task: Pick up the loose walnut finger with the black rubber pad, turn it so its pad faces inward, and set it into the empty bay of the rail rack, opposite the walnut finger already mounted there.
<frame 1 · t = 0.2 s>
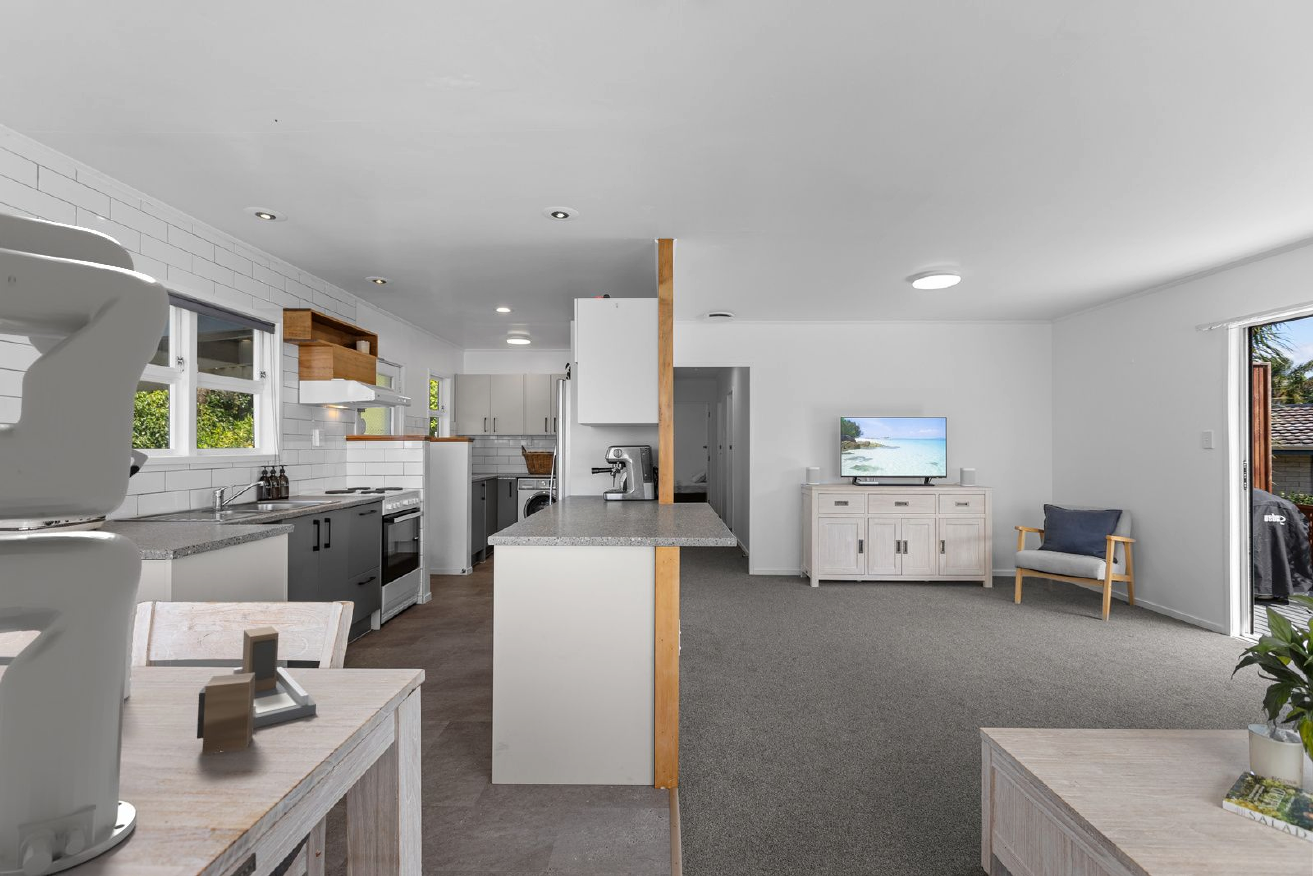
hand: (73, 507, 98), 31 cm above the table, tool pointing down, fingers open, 9 cm apart
water bottle: (94, 702, 101), on the table
walnut finger: (228, 745, 87), on the table
rail rack: (265, 704, 101), on the table
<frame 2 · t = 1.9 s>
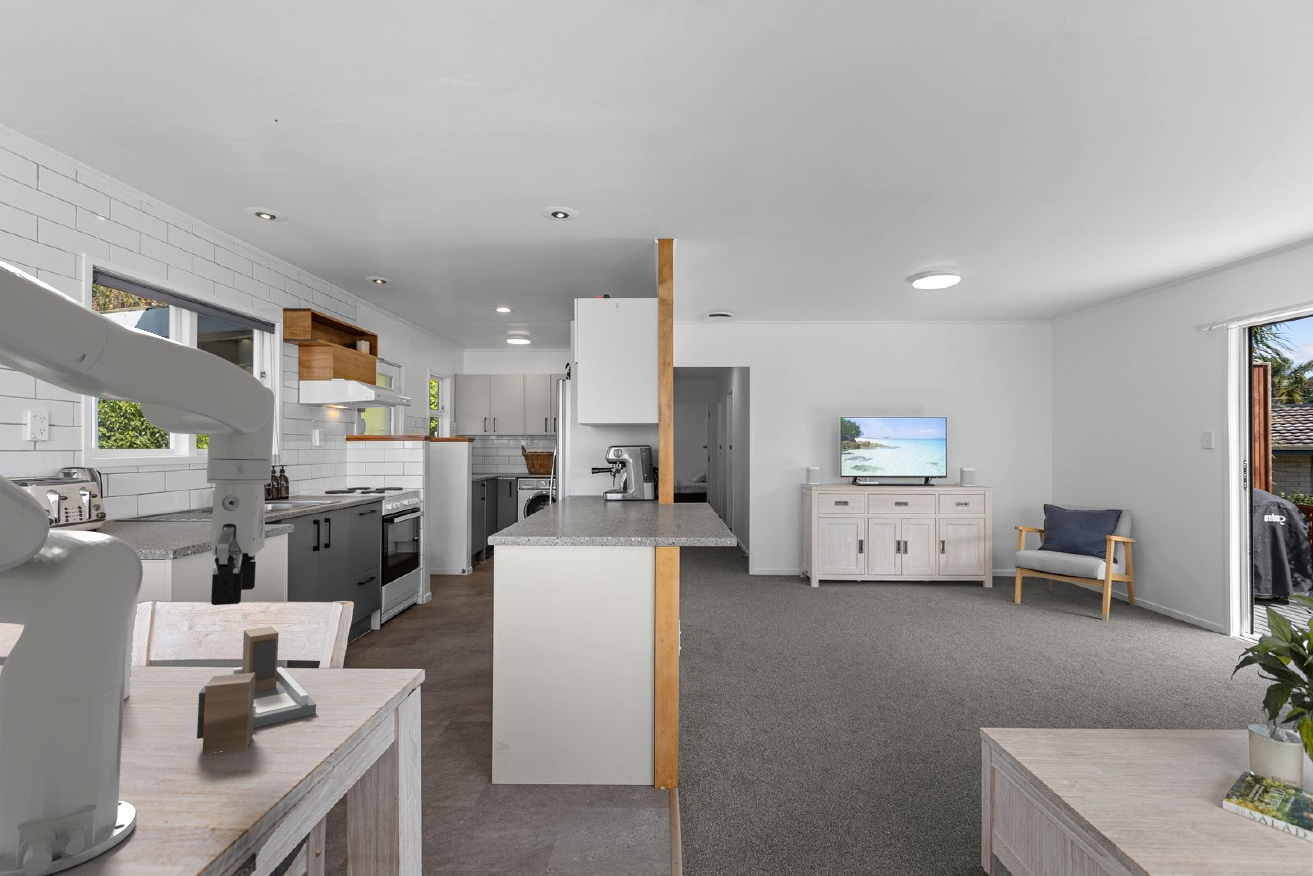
hand: (234, 596, 88), 20 cm above the table, tool pointing down, fingers open, 9 cm apart
nothing on the table moved.
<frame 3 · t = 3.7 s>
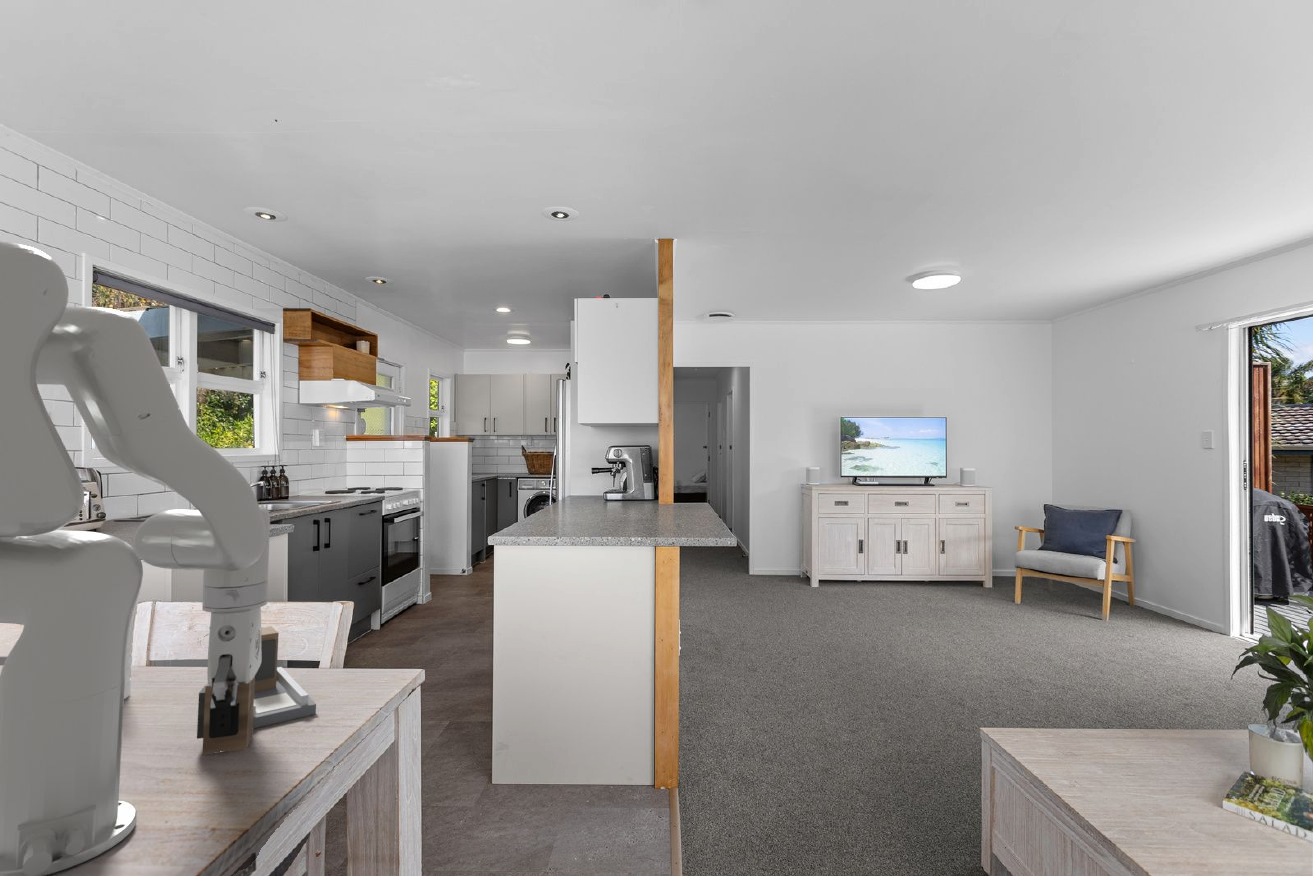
hand: (231, 721, 88), 3 cm above the table, tool pointing down, fingers open, 8 cm apart
nothing on the table moved.
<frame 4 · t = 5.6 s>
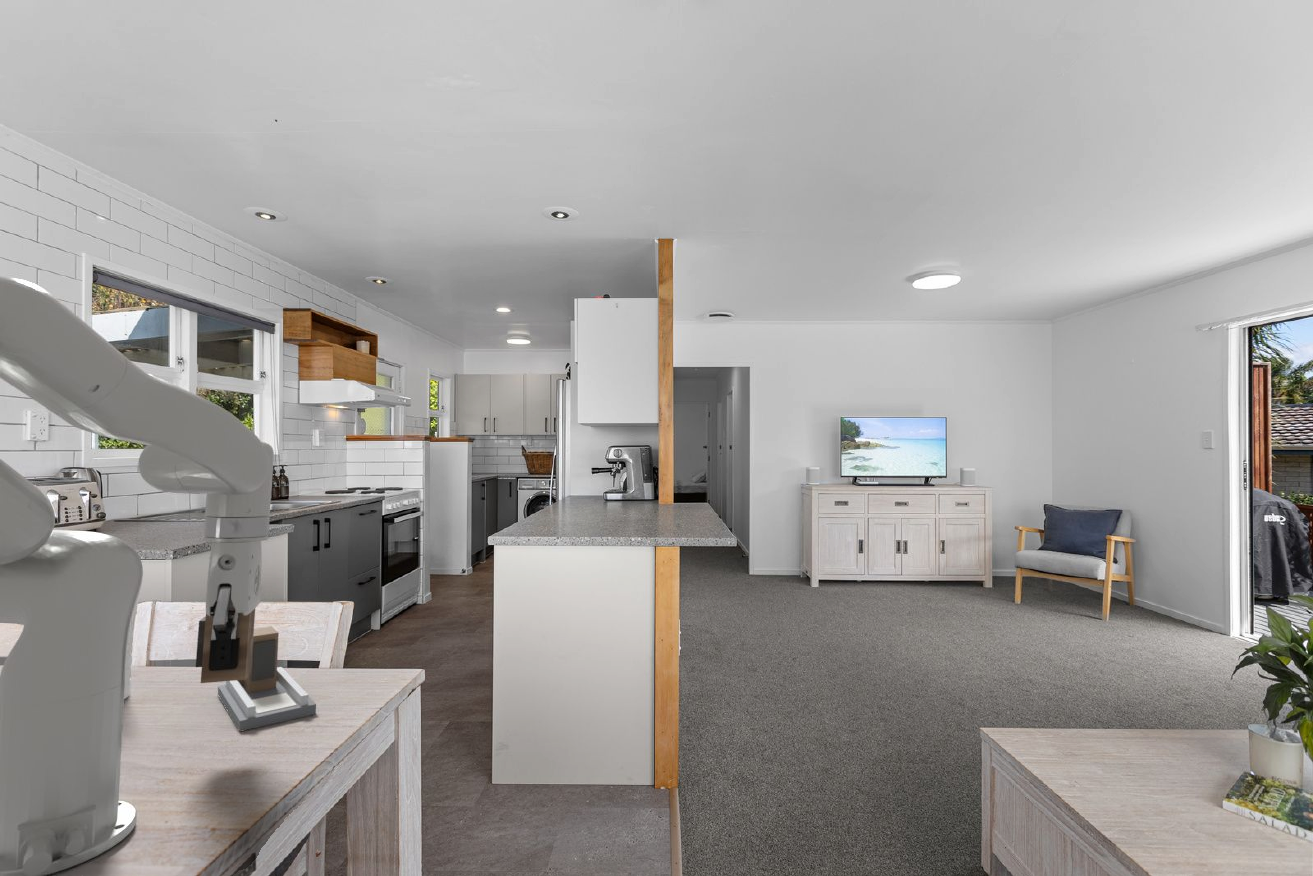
hand: (227, 663, 87), 11 cm above the table, tool pointing down, fingers closed on walnut finger, 4 cm apart
walnut finger: (226, 677, 86), point 10 cm above the table, touching gripper
everything else where it was.
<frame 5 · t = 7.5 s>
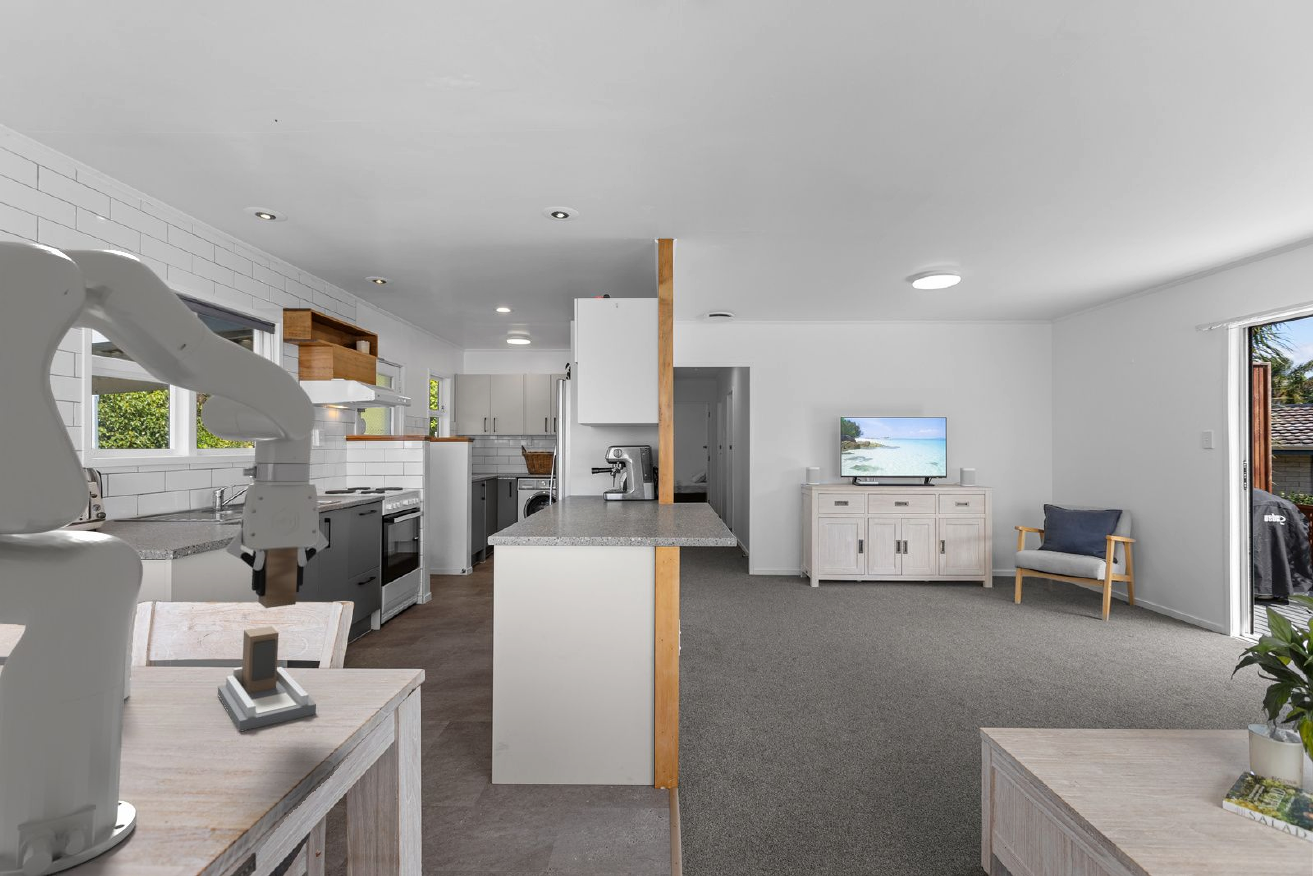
hand: (277, 591, 99), 19 cm above the table, tool pointing down, fingers closed on walnut finger, 4 cm apart
walnut finger: (277, 603, 99), point 17 cm above the table, touching gripper
everything else where it was.
when the fingers open (5 cm above the table, at t = 10.7 s): walnut finger drops 2 cm, resting on rail rack.
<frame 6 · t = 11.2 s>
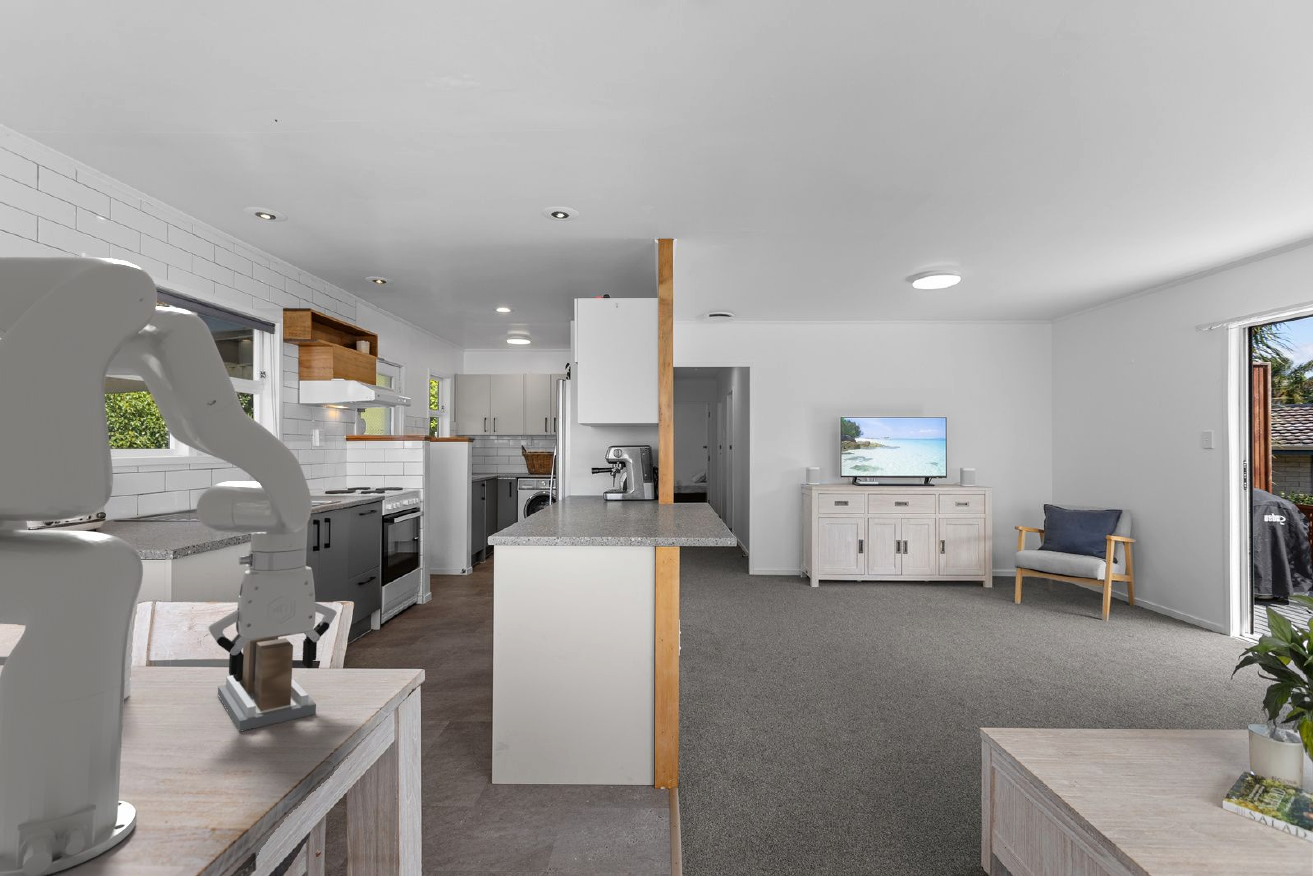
hand: (273, 672, 98), 6 cm above the table, tool pointing down, fingers open, 9 cm apart
walnut finger: (272, 703, 98), point 2 cm above the table, touching rail rack
everything else where it was.
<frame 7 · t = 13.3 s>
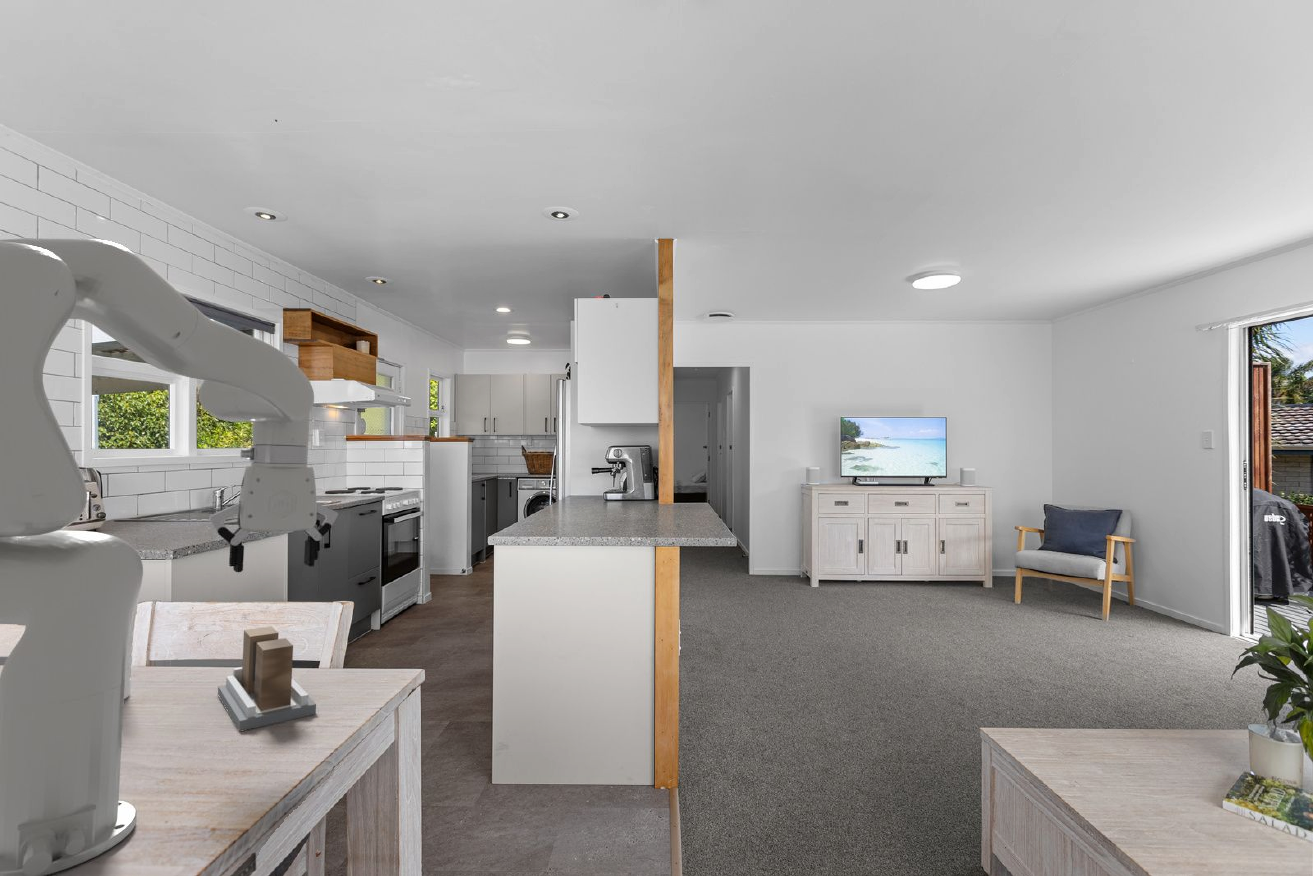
hand: (274, 568, 98), 22 cm above the table, tool pointing down, fingers open, 9 cm apart
nothing on the table moved.
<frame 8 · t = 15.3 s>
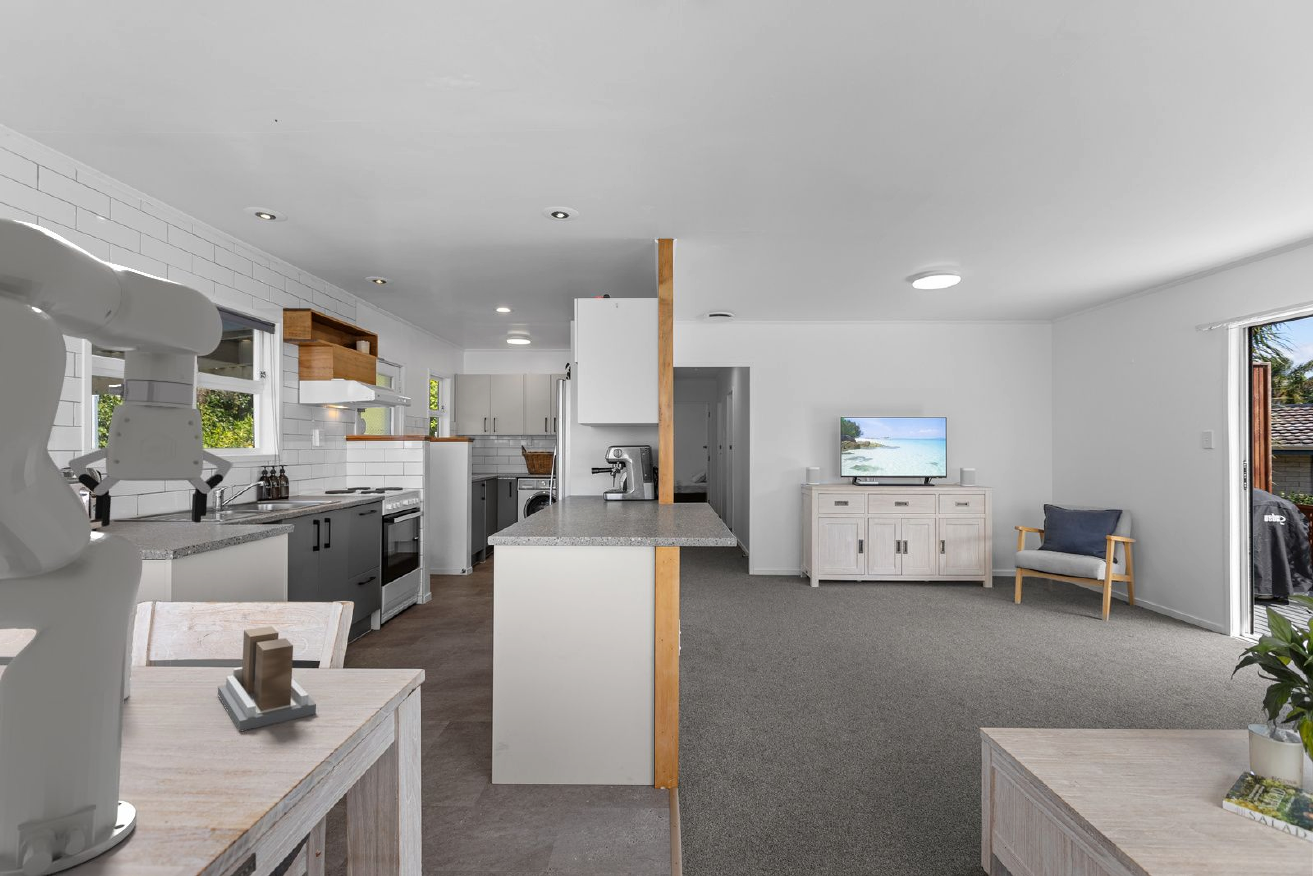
hand: (152, 523, 86), 30 cm above the table, tool pointing down, fingers open, 9 cm apart
nothing on the table moved.
at the end: walnut finger 0.4 cm from the target spot, point 1.6 cm above the table; walnut finger tilted 0°; the gripper is holding nothing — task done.
